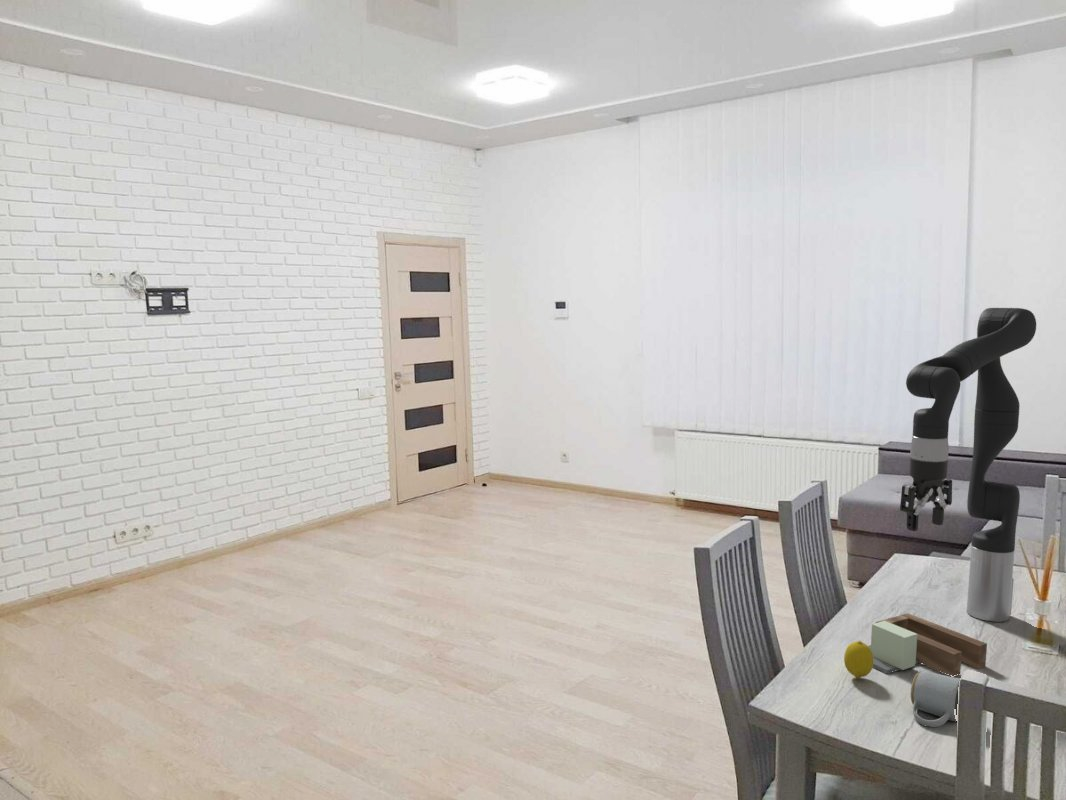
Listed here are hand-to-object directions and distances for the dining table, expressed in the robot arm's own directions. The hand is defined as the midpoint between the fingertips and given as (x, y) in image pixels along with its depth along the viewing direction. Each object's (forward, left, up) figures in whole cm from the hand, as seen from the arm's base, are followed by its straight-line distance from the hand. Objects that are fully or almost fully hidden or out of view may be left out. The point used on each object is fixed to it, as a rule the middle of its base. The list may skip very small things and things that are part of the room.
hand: (925, 527), depth 180 cm
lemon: (+27, +6, -27) cm, 39 cm away
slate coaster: (+15, +3, -27) cm, 31 cm away
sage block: (+15, +5, -26) cm, 30 cm away
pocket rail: (+4, +6, -27) cm, 28 cm away
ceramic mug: (+27, +24, -27) cm, 45 cm away
